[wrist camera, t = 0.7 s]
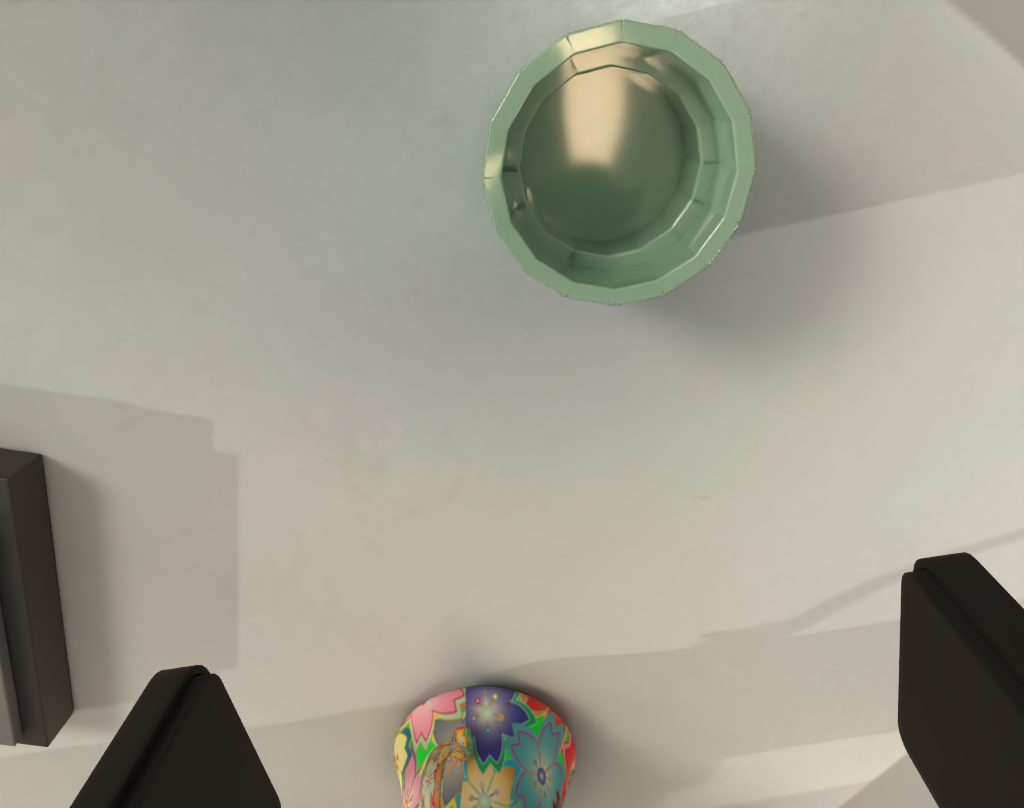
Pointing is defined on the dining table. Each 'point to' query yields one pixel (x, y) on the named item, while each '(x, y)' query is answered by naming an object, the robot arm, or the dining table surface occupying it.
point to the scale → (29, 610)
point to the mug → (483, 752)
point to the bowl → (619, 162)
